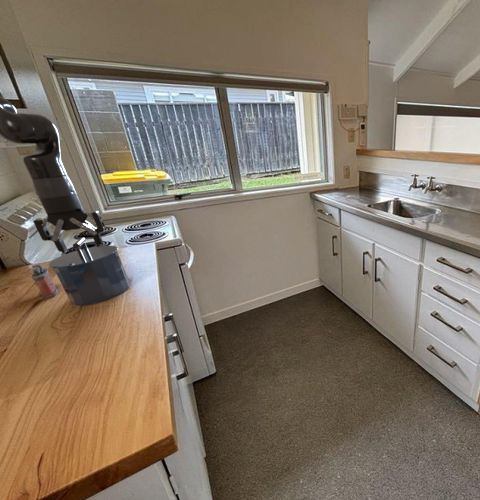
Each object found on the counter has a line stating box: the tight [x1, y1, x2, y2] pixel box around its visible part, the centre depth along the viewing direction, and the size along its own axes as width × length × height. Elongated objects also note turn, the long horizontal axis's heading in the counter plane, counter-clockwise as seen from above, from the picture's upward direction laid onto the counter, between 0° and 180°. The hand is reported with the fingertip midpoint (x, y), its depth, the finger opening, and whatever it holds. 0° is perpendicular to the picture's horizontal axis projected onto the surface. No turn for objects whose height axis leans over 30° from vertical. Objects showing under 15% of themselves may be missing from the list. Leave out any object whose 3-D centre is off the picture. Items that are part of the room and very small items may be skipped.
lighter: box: [31, 263, 59, 300], centre depth 88 cm, size 8×3×10 cm, turn 40°
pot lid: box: [48, 237, 119, 269], centre depth 84 cm, size 16×16×6 cm
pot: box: [53, 251, 131, 307], centre depth 87 cm, size 15×20×12 cm
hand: (82, 248), depth 84 cm, fingers open, 7 cm apart
